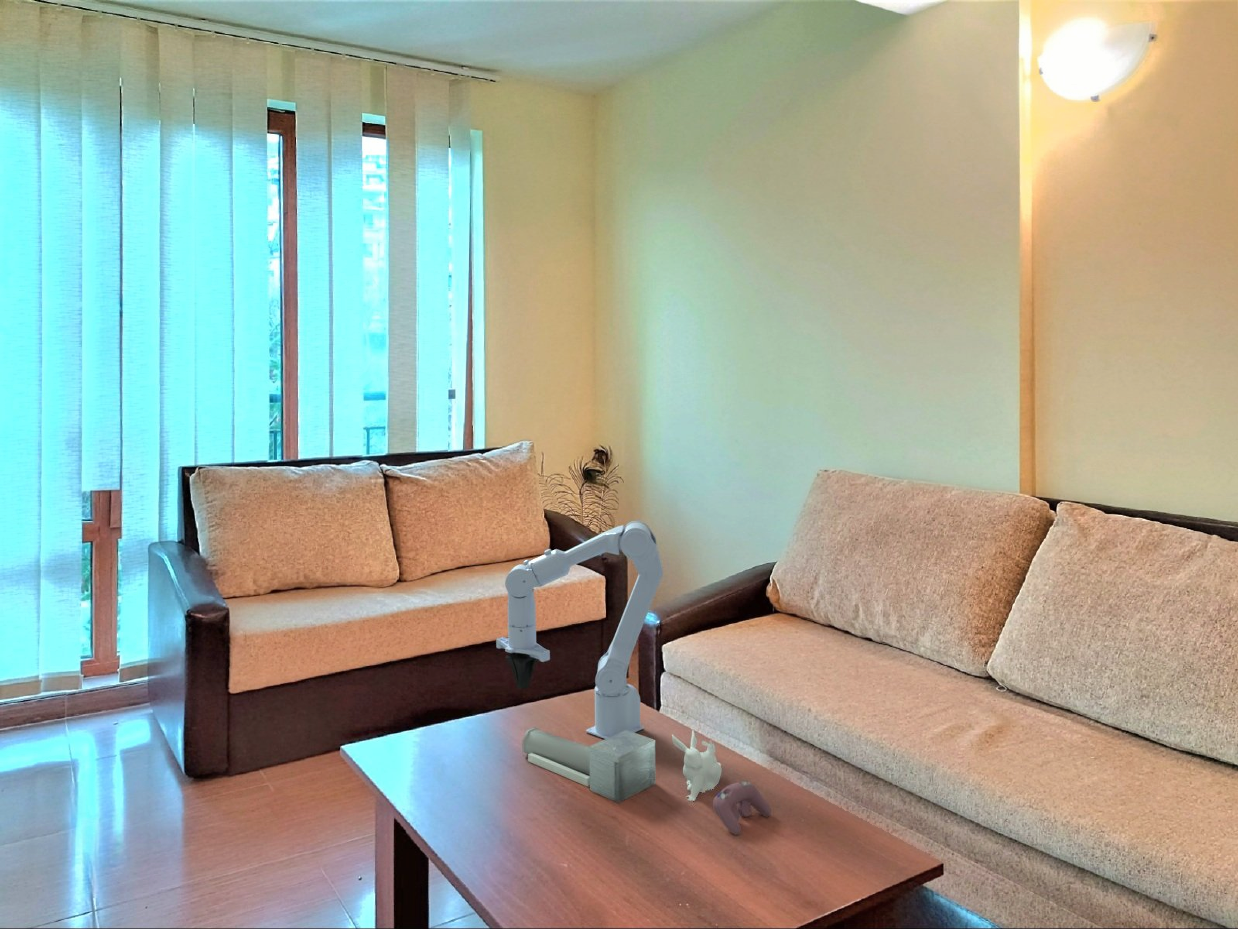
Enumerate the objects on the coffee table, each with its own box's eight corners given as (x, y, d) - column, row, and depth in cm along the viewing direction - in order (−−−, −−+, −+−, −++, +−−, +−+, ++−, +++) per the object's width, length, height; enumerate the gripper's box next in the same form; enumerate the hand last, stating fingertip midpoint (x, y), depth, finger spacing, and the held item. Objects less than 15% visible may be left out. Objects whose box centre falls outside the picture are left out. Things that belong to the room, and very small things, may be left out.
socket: (626, 772, 168) (626, 730, 167) (655, 783, 163) (655, 740, 162) (589, 790, 161) (589, 746, 160) (618, 802, 156) (618, 757, 155)
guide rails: (559, 748, 179) (558, 741, 179) (617, 771, 168) (617, 764, 168) (528, 761, 173) (527, 754, 173) (587, 786, 162) (587, 779, 162)
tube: (643, 760, 164) (542, 727, 179) (626, 761, 160) (525, 726, 175) (637, 790, 163) (537, 754, 179) (620, 791, 159) (519, 754, 174)
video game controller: (755, 818, 153) (740, 777, 155) (775, 814, 150) (760, 772, 152) (719, 839, 146) (704, 796, 148) (739, 836, 143) (723, 792, 145)
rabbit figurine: (692, 803, 155) (692, 749, 155) (658, 790, 160) (657, 738, 160) (731, 780, 164) (731, 729, 164) (698, 769, 169) (698, 719, 169)
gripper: (484, 621, 187) (485, 684, 188) (530, 634, 177) (532, 701, 179) (510, 614, 192) (511, 676, 194) (556, 627, 182) (558, 692, 184)
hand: (523, 687), depth 186 cm, fingers closed
